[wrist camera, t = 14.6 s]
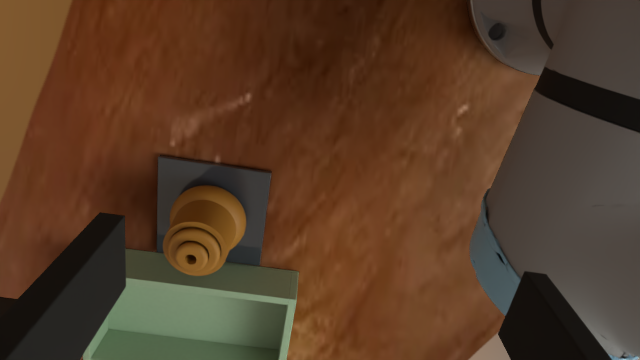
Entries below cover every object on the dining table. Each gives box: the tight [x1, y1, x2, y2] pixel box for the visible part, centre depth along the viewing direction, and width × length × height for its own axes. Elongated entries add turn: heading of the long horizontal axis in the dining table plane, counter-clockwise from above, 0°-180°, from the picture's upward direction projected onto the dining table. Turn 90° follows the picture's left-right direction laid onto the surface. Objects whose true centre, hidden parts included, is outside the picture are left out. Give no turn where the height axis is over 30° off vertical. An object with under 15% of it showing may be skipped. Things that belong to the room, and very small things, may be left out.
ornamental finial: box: [163, 185, 246, 276], centre depth 42 cm, size 8×8×8 cm
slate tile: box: [157, 155, 272, 266], centre depth 46 cm, size 11×11×1 cm
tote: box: [83, 249, 299, 360], centre depth 49 cm, size 22×12×5 cm, turn 81°
